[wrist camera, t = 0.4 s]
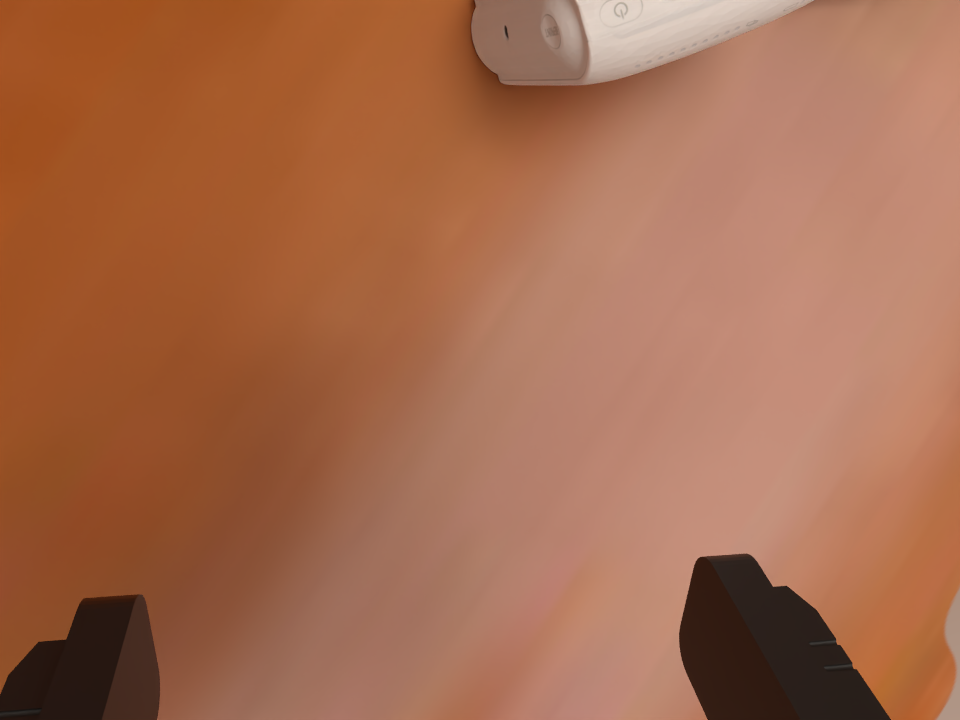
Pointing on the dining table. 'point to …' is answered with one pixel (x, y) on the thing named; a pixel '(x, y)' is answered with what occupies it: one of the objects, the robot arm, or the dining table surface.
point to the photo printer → (606, 35)
